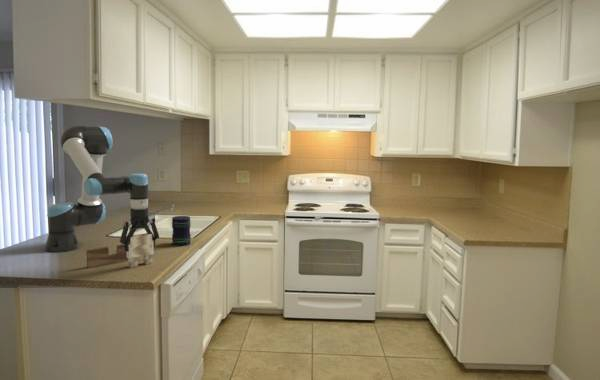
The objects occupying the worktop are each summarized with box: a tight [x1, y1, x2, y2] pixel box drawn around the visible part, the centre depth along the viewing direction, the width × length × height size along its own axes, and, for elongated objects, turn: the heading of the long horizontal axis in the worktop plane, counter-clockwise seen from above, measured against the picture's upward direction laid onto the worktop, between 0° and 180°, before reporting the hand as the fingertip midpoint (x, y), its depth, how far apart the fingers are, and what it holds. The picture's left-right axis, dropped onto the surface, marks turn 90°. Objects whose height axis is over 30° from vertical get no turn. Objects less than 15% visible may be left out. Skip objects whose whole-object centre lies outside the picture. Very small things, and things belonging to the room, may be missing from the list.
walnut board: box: [85, 243, 128, 269], centre depth 189 cm, size 2×22×8 cm, turn 136°
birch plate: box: [127, 232, 153, 269], centre depth 186 cm, size 10×3×14 cm, turn 136°
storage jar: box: [171, 215, 192, 247], centre depth 225 cm, size 10×10×15 cm
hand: (140, 255), depth 187 cm, fingers closed on birch plate, 10 cm apart
